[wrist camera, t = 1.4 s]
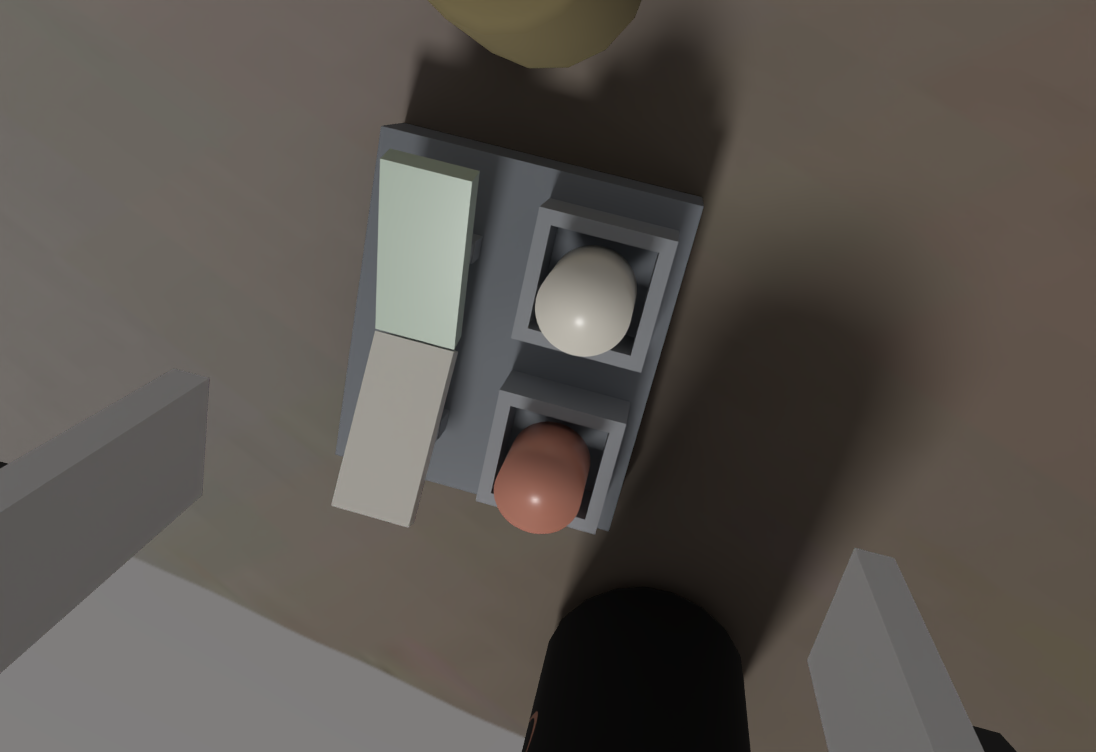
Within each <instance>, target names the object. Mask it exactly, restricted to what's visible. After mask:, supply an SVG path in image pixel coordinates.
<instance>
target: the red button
mask: <svg viewBox="0 0 1096 752" xmlns="http://www.w3.org/2000/svg"><path fill="white" fill-rule="evenodd" d="M590 461H591V460H590V453H589V450H588V447H587V445H586V443H585V441H584V440H583V439H582V437H581V436H580V435H579V434H578V433H577V432H575V431H574V430H573V429H571V428H570V427H568V426H566V425H563V424H560V423H556V422H539V423H535V424H532V425H530V426H528V427H526V428H525V429H524V430H522V431H521V432H520V433H519V434H518V435H517V437H516V438H515V440H514V442H513V444H512V446H511V448H510V450H509V452H508V454H507V457H506V459H505V461H504V463H503V465H502V467H501V469H500V471H499V473H498V475H497V477H496V480H495V484H494V498H495V502H496V505H497V507H498V509H499V511H500V512H501V514H502V515H503V516H504V518H505V519H506V520H507V521H509V522H510V523H511V524H512V525H514V526H515V527H517V528H519V529H521V530H523V531H526V532H530V533H535V534H547V533H553V532H556V531H559V530H561V529H563V528H564V527H566V526H567V525H569V524H570V523H571V522H572V521H573V519H574V518H575V517H576V515H577V513H578V511H579V508H580V505H581V501H582V497H583V493H584V489H585V485H586V481H587V477H588V473H589V469H590Z"/></svg>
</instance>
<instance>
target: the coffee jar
mask: <svg viewBox="0 0 1096 752" xmlns="http://www.w3.org/2000/svg"><path fill="white" fill-rule="evenodd" d="M522 752H750V741H749V731H748V721H747V710H746V700H745V690H744V680H743V673H742V666H741V658H740V655H739V653H738V651H737V650H736V648H735V646H734V644H733V642H732V640H731V639H730V637H729V635H728V633H727V631H726V630H725V629H724V628H723V627H722V626H721V625H720V624H719V623H718V622H717V621H716V620H715V619H714V618H712V617H711V616H710V615H709V614H708V613H707V612H706V611H705V610H704V609H703V608H702V607H700V606H698V605H696V604H694V603H692V602H690V601H688V600H686V599H684V598H682V597H680V596H678V595H676V594H674V593H672V592H667V591H662V590H657V589H652V588H647V587H636V588H622V589H615V590H612V591H609V592H606V593H604V594H601V595H598V596H596V597H593V598H590V599H587V600H586V601H584V602H583V603H582V604H581V605H579V606H578V607H577V608H576V609H574V610H573V611H572V612H571V613H569V614H568V615H567V616H566V617H565V618H563V619H562V621H561V622H560V624H559V626H558V627H557V629H556V631H555V632H554V634H553V636H552V637H551V639H550V641H549V644H548V648H547V652H546V656H545V660H544V664H543V668H542V672H541V676H540V680H539V684H538V688H537V692H536V696H535V700H534V705H533V709H532V713H531V717H530V721H529V725H528V729H527V733H526V737H525V741H524V745H523V749H522Z"/></svg>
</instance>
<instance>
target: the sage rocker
mask: <svg viewBox="0 0 1096 752" xmlns="http://www.w3.org/2000/svg"><path fill="white" fill-rule="evenodd" d="M479 173H480V171H478V170H474V169H470V168H466V167H462V166H458V165H454V164H450V163H446V162H442V161H438V160H434V159H430V158H426V157H422V156H418V155H414V154H410V153H406V152H402V151H399V150H395V149H391V148H390V149H389V150H388V151H387V152H386V153H385V154H384V155H383V156H382V157H381V158H380V179H379V215H378V252H377V288H376V324H375V329H378V330H382V331H386V332H389V333H393V334H397V335H401V336H404V337H408V338H412V339H415V340H419V341H423V342H427V343H430V344H434V345H438V346H441V347H445V348H449V349H453V350H454V349H455V347H456V345H457V344H458V342H459V340H460V338H461V333H462V324H463V315H464V306H465V298H466V289H467V280H468V271H469V264H470V261H471V258H472V254H473V244H472V236H473V227H474V218H475V209H476V200H477V191H478V182H479Z"/></svg>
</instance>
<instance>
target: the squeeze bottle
mask: <svg viewBox="0 0 1096 752" xmlns="http://www.w3.org/2000/svg"><path fill="white" fill-rule="evenodd" d="M428 1H429V2H430V3H431V4H432V5H433V6H434V7H435V8H436V9H437V10H438V11H439V12H440V13H441V14H442V15H443V17H444V18H445V19H447V20H448V21H449V22H451V23H452V24H454V25H455V26H456V27H458V28H459V29H460V30H462V31H463V32H464V33H466V34H467V35H468V36H470V37H471V38H472V39H474V40H475V41H477V42H478V43H479V44H481V45H482V46H483V47H485V48H486V49H487V50H489V51H490V52H491V53H493V54H496V55H498V56H501V57H503V58H505V59H508V60H510V61H512V62H515V63H517V64H519V65H522V66H524V67H527V68H565V67H570V66H572V65H574V64H576V63H579V62H581V61H583V60H585V59H587V58H589V57H591V56H593V55H595V54H598V53H600V52H602V51H604V50H606V49H607V47H608V46H609V45H610V44H611V43H612V42H613V41H614V40H615V39H616V38H617V36H618V35H619V34H620V33H621V32H622V31H623V30H624V29H625V28H626V27H627V25H628V24H629V23H630V22H631V21H632V20H633V19H634V18H635V15H636V13H637V10H638V8H639V5H640V3H641V0H428Z"/></svg>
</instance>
